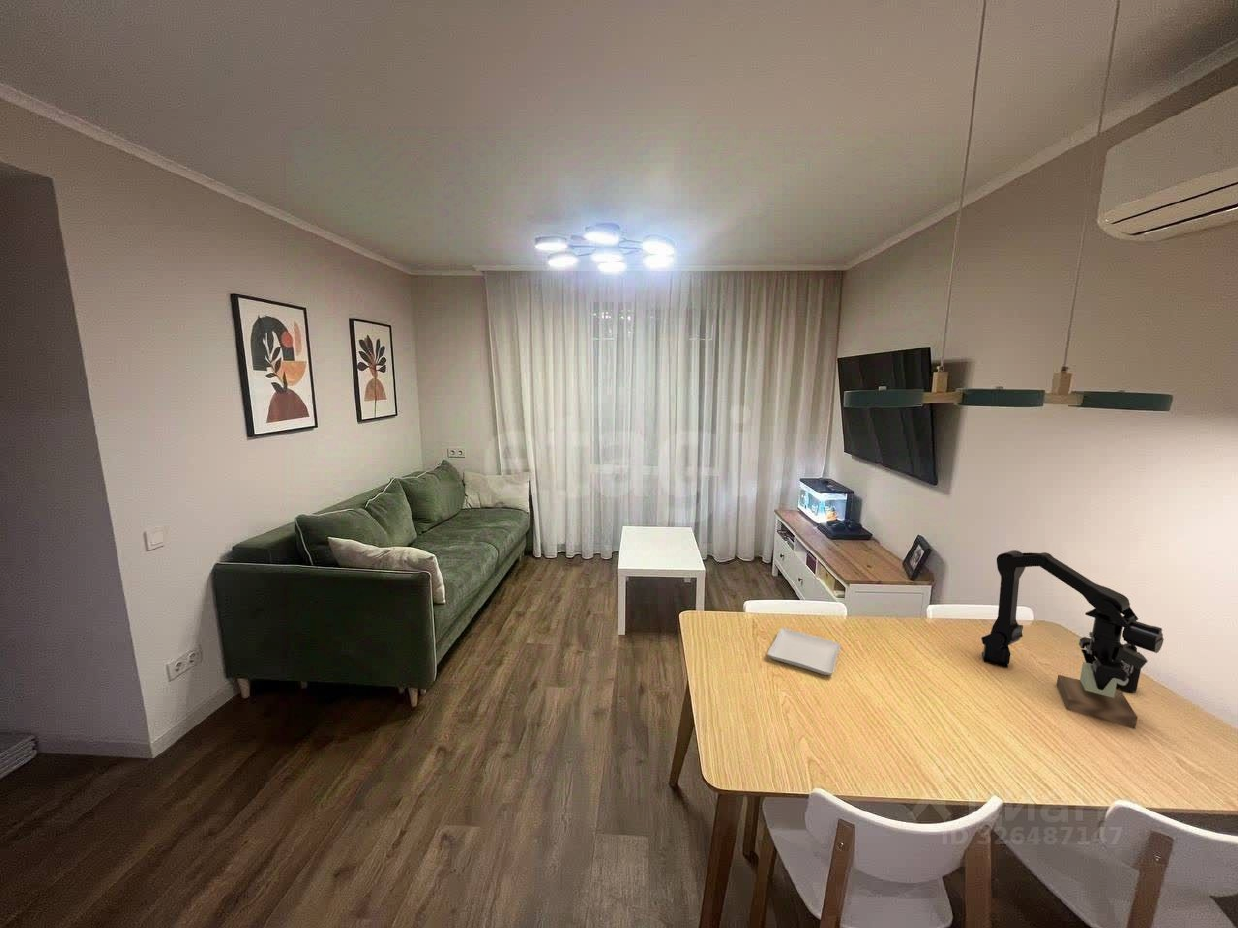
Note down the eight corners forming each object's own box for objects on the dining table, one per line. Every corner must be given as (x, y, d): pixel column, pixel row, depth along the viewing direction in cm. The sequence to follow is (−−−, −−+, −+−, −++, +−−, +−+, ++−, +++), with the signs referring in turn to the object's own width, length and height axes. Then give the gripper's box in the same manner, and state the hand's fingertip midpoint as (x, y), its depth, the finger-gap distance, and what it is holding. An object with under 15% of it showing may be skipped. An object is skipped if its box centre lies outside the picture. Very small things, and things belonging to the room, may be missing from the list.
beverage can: (1142, 694, 144) (1149, 658, 142) (1117, 691, 145) (1124, 656, 143) (1124, 681, 150) (1131, 647, 148) (1100, 678, 152) (1106, 644, 150)
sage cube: (1085, 690, 137) (1088, 671, 136) (1079, 679, 142) (1083, 661, 141) (1114, 697, 134) (1117, 678, 133) (1107, 686, 139) (1110, 668, 138)
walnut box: (1066, 710, 137) (1068, 698, 137) (1056, 686, 149) (1058, 674, 148) (1134, 730, 130) (1137, 717, 129) (1118, 702, 141) (1120, 690, 141)
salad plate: (832, 682, 150) (833, 672, 150) (765, 662, 161) (766, 653, 161) (840, 651, 168) (841, 642, 168) (780, 634, 179) (780, 626, 179)
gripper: (1159, 659, 124) (1148, 712, 126) (1134, 629, 139) (1124, 676, 142) (1101, 646, 129) (1091, 697, 132) (1082, 618, 145) (1074, 664, 148)
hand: (1096, 683), depth 138 cm, fingers closed on sage cube, 6 cm apart
